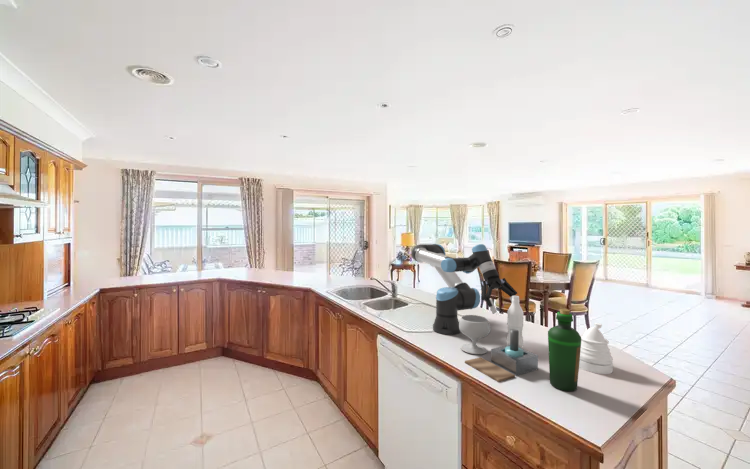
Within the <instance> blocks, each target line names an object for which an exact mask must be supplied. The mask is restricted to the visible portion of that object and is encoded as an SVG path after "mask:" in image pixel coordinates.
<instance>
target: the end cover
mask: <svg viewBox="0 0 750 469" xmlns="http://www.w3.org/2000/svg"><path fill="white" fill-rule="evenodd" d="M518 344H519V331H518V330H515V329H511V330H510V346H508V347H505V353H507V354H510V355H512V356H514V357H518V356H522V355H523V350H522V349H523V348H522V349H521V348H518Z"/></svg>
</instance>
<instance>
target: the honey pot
mask: <svg viewBox="0 0 750 469" xmlns="http://www.w3.org/2000/svg"><path fill="white" fill-rule="evenodd" d="M602 327H603V324H602V323H599V322H594V325H593V326H591V327H589V328H588V329H587V330H585V332H584V333H583V334H579V335H580V336H581V350H580V361H579V369H581V370H583V371H586V372H589V373H593V374H598V375H610V374H612V373H613V370H614V369H613V367H614V364H613V362H614V361H613V360H614V359H613V358H614V357H612V353H611V350H610V348H609V346H608V344H609V343H610V342H609V340H608V339H607V338H605V336H604V335H603V333H602V332H601V331H600V329H601V328H602Z"/></svg>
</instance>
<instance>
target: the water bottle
mask: <svg viewBox="0 0 750 469" xmlns="http://www.w3.org/2000/svg"><path fill="white" fill-rule="evenodd" d="M520 302H521V301H520V296H519V295H514V296H512V302H511V304H510V306H509V307H508V309H507V313H506V314H507V319H506V320H507V321H506V322H507V323H506V325H507V335H506V343H507V344H506V346H507V345H510V330H511V329H515V330H518V331H519V344H518V347H520V348H522V349H523V346H524V337H523V327H524V313H525V312H524V310H523V308H522V306H521V304H520Z"/></svg>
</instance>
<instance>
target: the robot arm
mask: <svg viewBox="0 0 750 469" xmlns="http://www.w3.org/2000/svg"><path fill="white" fill-rule="evenodd" d="M471 253H472V254H470V255H469V256H468V257H451V256H447V255H446V250H445V247H444V246H443V245H441V244H440V243H439V244H436V243H432V244H431V243H430V244H426V243H425V244H424V243H423V244H417V245H415V246H414V247H413V248H412V249H411V254H410V255H411V257H412V259H413V260H414V261H415V262H418V263H420V264H421V263H425V264H428V265H429V266H430V267H434V269H435V270H436V272H438V274H439V276H440V277H441V278H442V280H443V281H444V282H445V284H446V287H442V288H439V289H438V290H437V291H436V296H435V299H436V300H435V303H436V305H435V306H436V308H435V310H436V311H435V319H434V321H433V323H432V330H433V331H434V332H435V333H438V334H442V335H457V334H460V333H461V331H460V329H459V322H460V320H459V319H458V311H464V310H465V311H466V310H472V309H476V308H478V307H479V306H480V304H481V303H480V302H481V301H484V302H486V304H487V307H488V308H490V310H491V313H492V314H495V313H498V312H497V311H498V310H497V308H496V306H495V304H494V301H493V299H492V298H491V296H492V293H493V290H495V289H496V290H498V289H499V290H501V291H502V292H504V293H505V294H506V295H507V296H509V300H510V302H511V303H512V296H514V295H515V296H517V295H518V291H516V289H514V287H512V285H511V284H510V283H509V282H508V280H507V279H506V278H505V277H503V278H500V276H499V275H500V274H499V272H498V270H497V269H496V265H495V264H494V262H493V260H492V257H491V255H490V252H489V250H488V248H487V246H486V245H485V244H483V243H481V244H476V245H474V246H473V247H472V248H471ZM477 269H479V270H480V273H481V274H482V277H483V281H481V282H480V284H481V294H480V292H479V290H478V289H477V288H475V287H471V286H470V285H469V284H468V283H467V282H463V280H462V279H461V278H460V276H459V275H458V274H457V272H462V273H464V274H466V275H467V274H471V273H473V272H475V271H476V270H477ZM447 286H448V287H447Z"/></svg>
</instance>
